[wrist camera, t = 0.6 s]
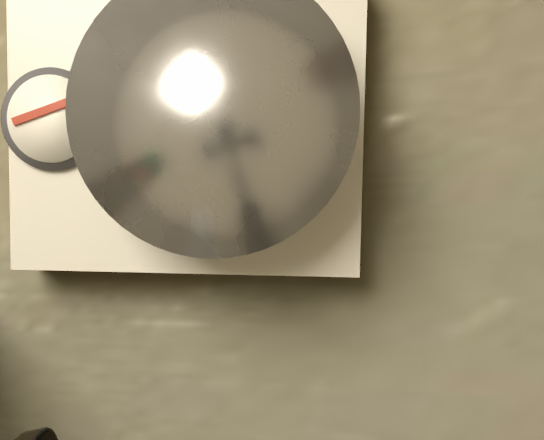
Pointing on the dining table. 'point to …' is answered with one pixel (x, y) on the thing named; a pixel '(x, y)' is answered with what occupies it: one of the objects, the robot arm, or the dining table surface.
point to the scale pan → (212, 120)
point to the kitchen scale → (80, 202)
